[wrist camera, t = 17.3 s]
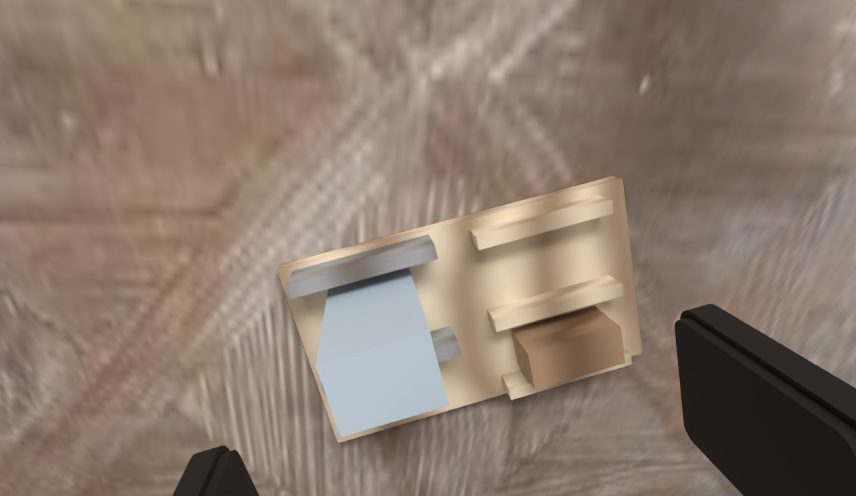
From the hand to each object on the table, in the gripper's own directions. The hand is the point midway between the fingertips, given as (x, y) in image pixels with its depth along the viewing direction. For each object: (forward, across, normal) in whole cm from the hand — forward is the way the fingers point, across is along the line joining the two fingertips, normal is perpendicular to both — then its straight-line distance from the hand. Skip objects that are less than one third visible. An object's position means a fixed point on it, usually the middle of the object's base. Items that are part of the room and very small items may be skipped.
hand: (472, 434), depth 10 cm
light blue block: (+25, +4, +7) cm, 26 cm away
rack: (+26, -3, +10) cm, 28 cm away
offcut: (+25, -9, +14) cm, 30 cm away
